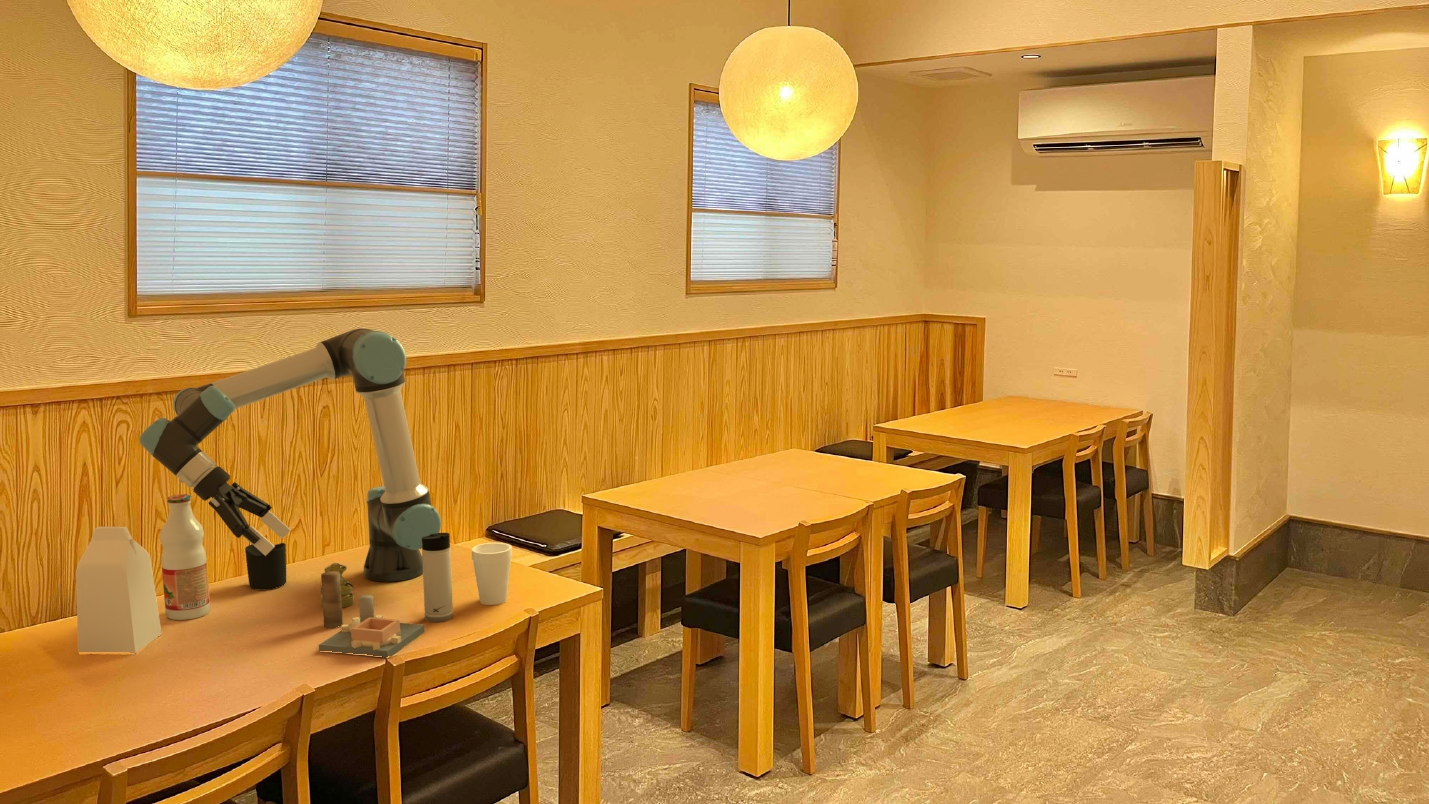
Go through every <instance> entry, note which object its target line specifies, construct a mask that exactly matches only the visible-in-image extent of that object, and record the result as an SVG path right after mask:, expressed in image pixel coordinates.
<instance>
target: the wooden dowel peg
mask: <svg viewBox="0 0 1429 804" xmlns="http://www.w3.org/2000/svg"><path fill="white" fill-rule="evenodd" d="M320 574H321V575H320V578H321V579H320V580H321V581H320V582H321V587H322V594H321V596H322V600H323V607H322V612H323V613H322V616H323V627H324V628H325V627H326V628H325V629H328V628H333V629H337V628H336V627H338V626H342V624H343V625H344V623H343V608H342V602H341V584H340V572H336V571H330V572H325V571H324V572H323V573H320ZM338 628H339V627H338Z"/></svg>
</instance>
